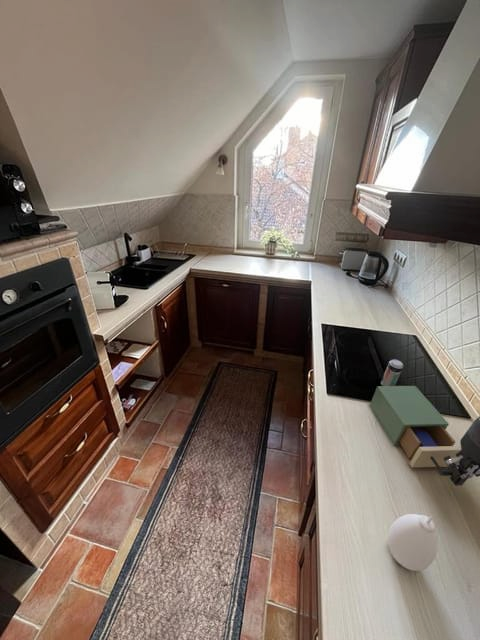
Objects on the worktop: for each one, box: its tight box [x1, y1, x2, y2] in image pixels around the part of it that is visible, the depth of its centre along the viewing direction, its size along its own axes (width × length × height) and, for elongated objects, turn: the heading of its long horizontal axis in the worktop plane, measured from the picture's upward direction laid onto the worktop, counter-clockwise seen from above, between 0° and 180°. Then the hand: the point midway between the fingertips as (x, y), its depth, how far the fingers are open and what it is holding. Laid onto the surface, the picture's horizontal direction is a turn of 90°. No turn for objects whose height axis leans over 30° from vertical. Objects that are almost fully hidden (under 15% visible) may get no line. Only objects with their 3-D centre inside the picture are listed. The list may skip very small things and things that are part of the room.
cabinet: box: [369, 385, 450, 446], centre depth 84 cm, size 16×14×10 cm
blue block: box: [413, 430, 438, 450], centre depth 76 cm, size 6×4×4 cm
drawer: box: [399, 426, 461, 477], centre depth 75 cm, size 20×13×8 cm, turn 2°
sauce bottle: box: [387, 513, 439, 572], centre depth 52 cm, size 8×8×18 cm
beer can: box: [380, 358, 404, 386], centre depth 100 cm, size 5×5×12 cm
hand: (455, 481), depth 66 cm, fingers closed
